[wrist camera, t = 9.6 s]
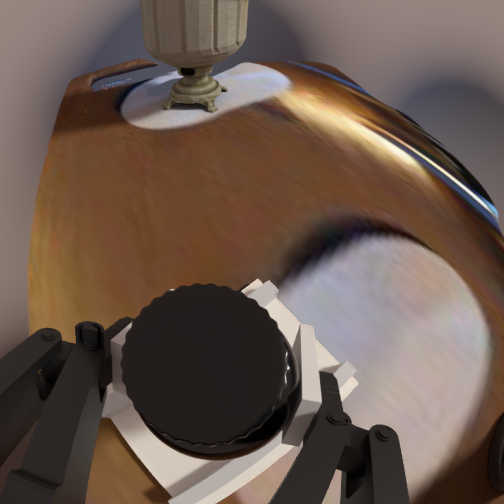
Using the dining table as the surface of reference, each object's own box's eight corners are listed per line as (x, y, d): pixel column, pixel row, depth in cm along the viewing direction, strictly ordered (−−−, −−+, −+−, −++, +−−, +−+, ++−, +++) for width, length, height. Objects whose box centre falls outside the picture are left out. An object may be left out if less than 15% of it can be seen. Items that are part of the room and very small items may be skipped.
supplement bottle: (244, 329, 20) (260, 222, 10) (291, 414, 17) (374, 405, 7) (154, 368, 18) (67, 298, 8) (197, 457, 15) (147, 512, 5)
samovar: (292, 91, 60) (315, -65, 26) (227, 142, 47) (236, -93, 13) (192, 65, 66) (191, -63, 33) (118, 106, 54) (96, -55, 20)
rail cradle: (256, 283, 33) (259, 269, 31) (354, 384, 27) (366, 380, 25) (100, 395, 25) (87, 391, 22) (193, 513, 19) (189, 523, 16)
